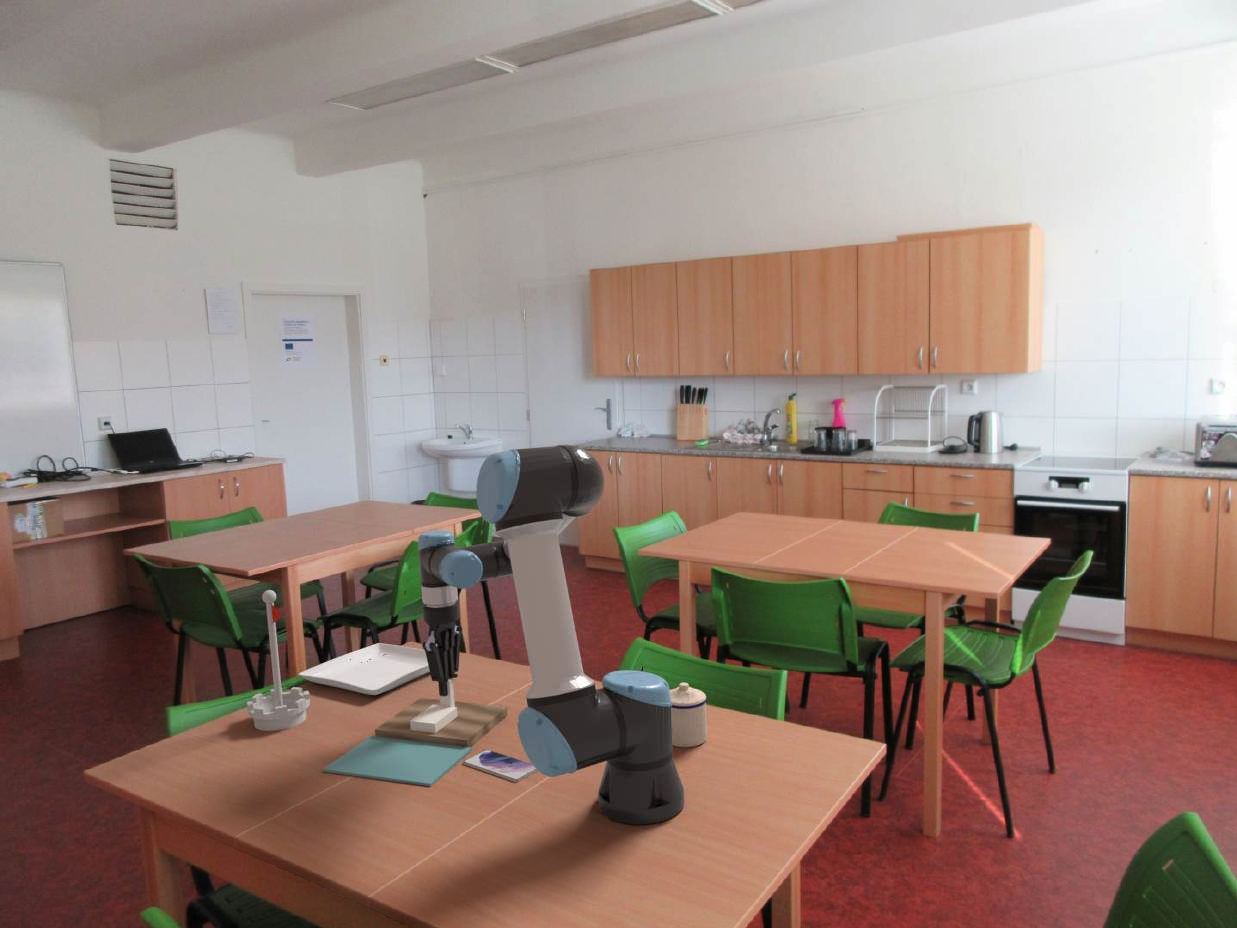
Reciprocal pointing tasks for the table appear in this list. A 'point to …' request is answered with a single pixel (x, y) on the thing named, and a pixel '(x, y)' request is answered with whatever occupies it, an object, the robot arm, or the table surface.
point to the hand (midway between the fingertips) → (447, 707)
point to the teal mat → (399, 760)
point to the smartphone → (501, 765)
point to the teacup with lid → (688, 716)
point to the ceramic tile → (433, 718)
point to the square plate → (371, 669)
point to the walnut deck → (457, 732)
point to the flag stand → (277, 687)
